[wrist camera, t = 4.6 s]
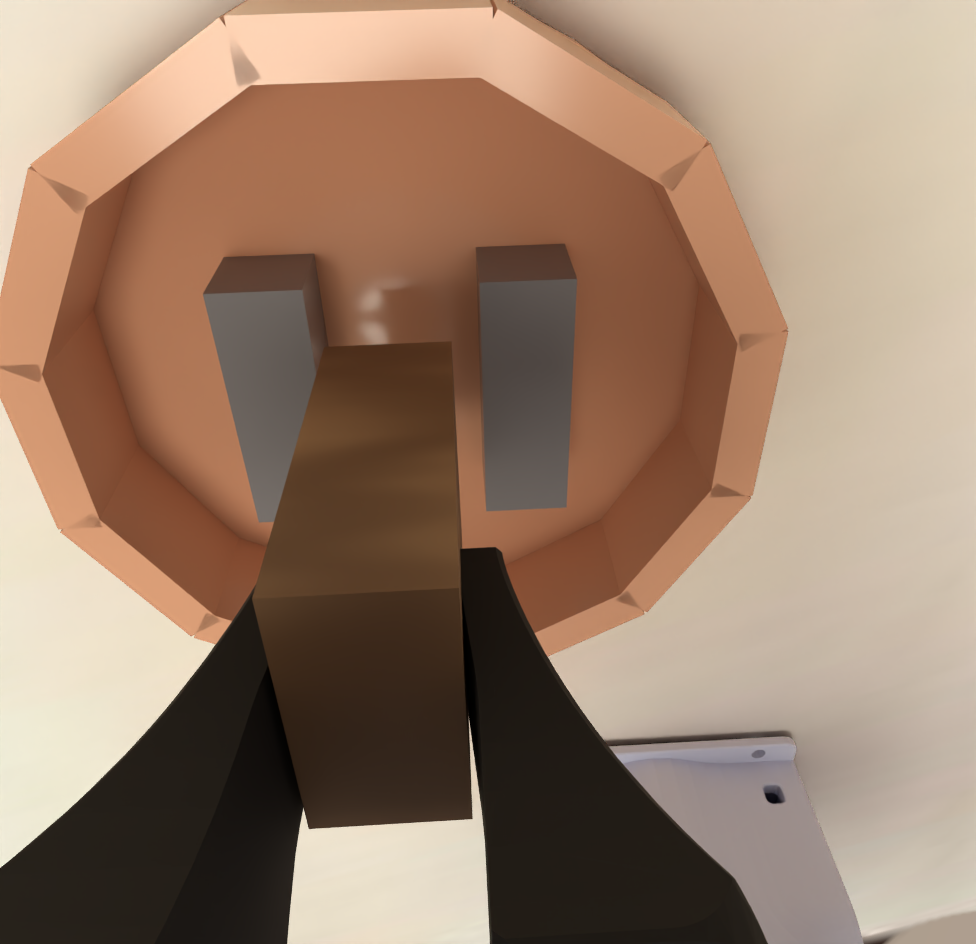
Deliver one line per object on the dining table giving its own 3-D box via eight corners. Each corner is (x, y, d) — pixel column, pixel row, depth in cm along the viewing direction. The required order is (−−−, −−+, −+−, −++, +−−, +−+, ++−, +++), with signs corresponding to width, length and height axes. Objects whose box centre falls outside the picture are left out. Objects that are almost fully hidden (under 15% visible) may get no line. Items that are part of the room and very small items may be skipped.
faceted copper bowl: (776, -27, 16) (862, -4, 13) (680, 565, 26) (715, 663, 22) (-39, -2, 16) (-163, 27, 12) (170, 590, 25) (131, 695, 22)
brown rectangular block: (451, 340, 15) (458, 587, 9) (461, 530, 18) (472, 818, 12) (323, 346, 15) (251, 598, 9) (352, 535, 18) (308, 828, 12)
